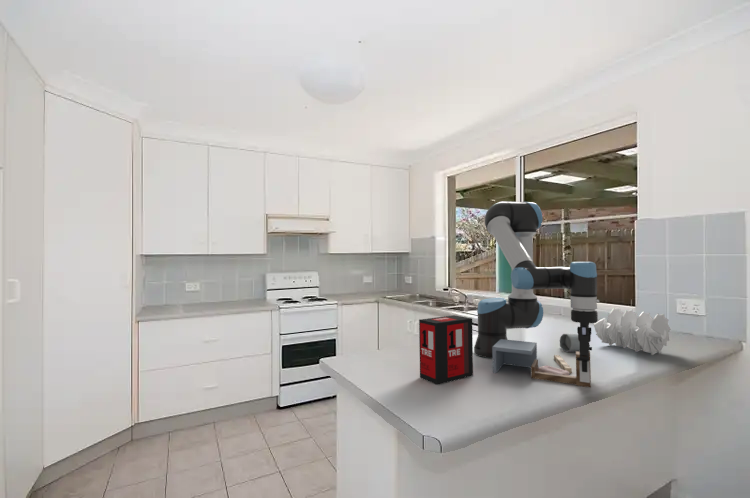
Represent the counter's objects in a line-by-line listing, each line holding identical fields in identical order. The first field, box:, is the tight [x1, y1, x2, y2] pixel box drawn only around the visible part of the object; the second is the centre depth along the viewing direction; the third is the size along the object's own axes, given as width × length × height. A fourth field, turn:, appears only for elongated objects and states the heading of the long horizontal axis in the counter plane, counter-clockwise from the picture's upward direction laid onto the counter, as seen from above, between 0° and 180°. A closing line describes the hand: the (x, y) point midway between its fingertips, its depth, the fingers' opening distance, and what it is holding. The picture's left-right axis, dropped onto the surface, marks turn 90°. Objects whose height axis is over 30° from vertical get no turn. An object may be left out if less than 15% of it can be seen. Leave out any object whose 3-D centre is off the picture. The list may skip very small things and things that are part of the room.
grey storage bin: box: [492, 339, 538, 374], centre depth 138 cm, size 13×14×9 cm
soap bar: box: [538, 365, 570, 376], centre depth 132 cm, size 5×9×2 cm, turn 30°
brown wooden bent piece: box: [530, 351, 592, 388], centre depth 128 cm, size 18×11×10 cm, turn 60°
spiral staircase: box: [593, 307, 671, 356], centre depth 165 cm, size 18×18×25 cm
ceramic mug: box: [559, 333, 580, 353], centre depth 166 cm, size 11×8×8 cm
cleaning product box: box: [418, 314, 474, 386], centre depth 132 cm, size 16×9×20 cm, turn 122°
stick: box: [553, 354, 573, 374], centre depth 143 cm, size 18×2×2 cm, turn 166°
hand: (585, 375), depth 122 cm, fingers open, 13 cm apart
